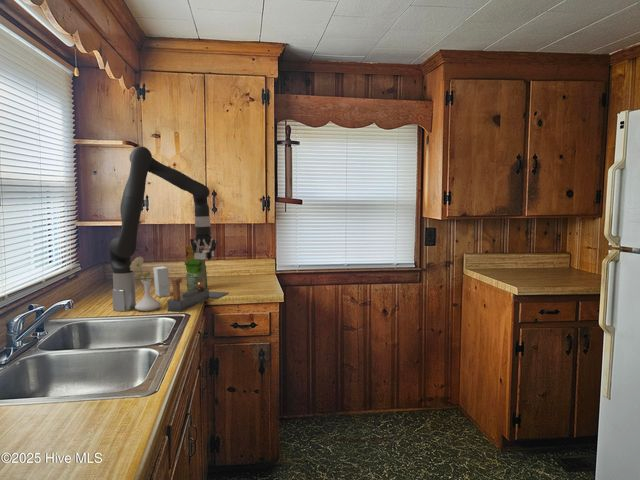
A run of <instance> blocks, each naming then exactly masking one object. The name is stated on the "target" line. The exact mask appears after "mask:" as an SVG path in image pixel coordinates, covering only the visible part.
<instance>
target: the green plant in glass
mask: <svg viewBox="0 0 640 480" xmlns="http://www.w3.org/2000/svg"><path fill="white" fill-rule="evenodd" d="M184 249H185V255H184V257H185V258H186V259H185V261H184V265H185V266H186V267H185V269H186V273H185V274H186V275H185V278H186V279H185V280H186V288H187V290H186V291H188V290H191V289H198V284H197V282H199V281H204V289H208V276H207V275H208V274H207V273H208V272H207V266H206V259H195V258H194V253H196V251H193V249H192V245H188V244H185V245H184ZM201 250H202V251H204V250H205V247H204V246H202V248H201Z"/></svg>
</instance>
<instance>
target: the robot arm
mask: <svg viewBox="0 0 640 480" xmlns="http://www.w3.org/2000/svg"><path fill="white" fill-rule="evenodd" d="M129 161H130V169H129V175H128V178H127V181H126V183H125V186H124V190H123V193H122V197H121V203H120V207H119V208H120V210H119V211H120V218H121V230H120V234H119V236H117V237H114V238H112V239H111V241H110V242H109V248H108V249H109V261H110V262H109V263H110V266H111V269H112V282H113V283H112V285H113V289H112V290H111V291H112V292H111V293H112V296H111V297H112V309H113V311H115V312H116V311H117V312H126V311H132V310H136V308H135V305H136V304H137V299H136V297H137V295H136V279H135V277H136V276H135V275H136V274H135V271H131V270H130V269H131V268H130V265H131V264H132V262H133V261H132V259H131V257H132V256H133V255H134V254H135V252H136V249H137V240H138V229H139V224H140V220H141V214H142V210H143V204H144V200H145V193H146V184H147V183H146V182H147V177H148V173H151V174H153V175H155V176H157V177H159V178H161V179H162V180H164V181H167V182H168V183H169V184H171V185H173V186H175V187H177V188H178V189H180V190H182V191H184V192H185V191H186V192H187V193H188V194H189V193H190V195H192V198H193V203H194V231H195V238H190V246H192V249H193V251H196V252H198V251H199V250H201V248H202V246H203V247H204V248H205V249H206V250H207V251H208V252H207V253H208V258H207V261H209V260H212V258H213V257H212V251H214V252H215V251H216V249H217V241H218V239H217V238H212V229H211V227H212V226H211V224H212V223H211V216H210V205H209V204H208V198H209V196H210V189H209V187H208V186H206V185H205V184H203V183H202V182H199V181H197V180H195V179H193V178H191V177H190V176H188V175H186V174H184V173H183V172H182V171H179V170H177V169H175V168H173V167H170V166H169V165H166V164H163V163H161V162H160V161H157V160H156V159H155V158H154V157H153V155H152V152H151V151H150V150H149V149H148V147H145V146H137V147H135V148H134V149H133V150H132V151H131V152H130V154H129Z"/></svg>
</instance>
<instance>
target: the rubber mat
mask: <svg viewBox="0 0 640 480" xmlns="http://www.w3.org/2000/svg"><path fill="white" fill-rule="evenodd" d="M228 293H229V292H225V291H224V292H223V291H210V290H209V299H216V300H217V299H218V300H219V299H220V298H223V297H224V295H225V296H227V295H229V294H228ZM226 294H227V295H226ZM222 296H223V297H222Z"/></svg>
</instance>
